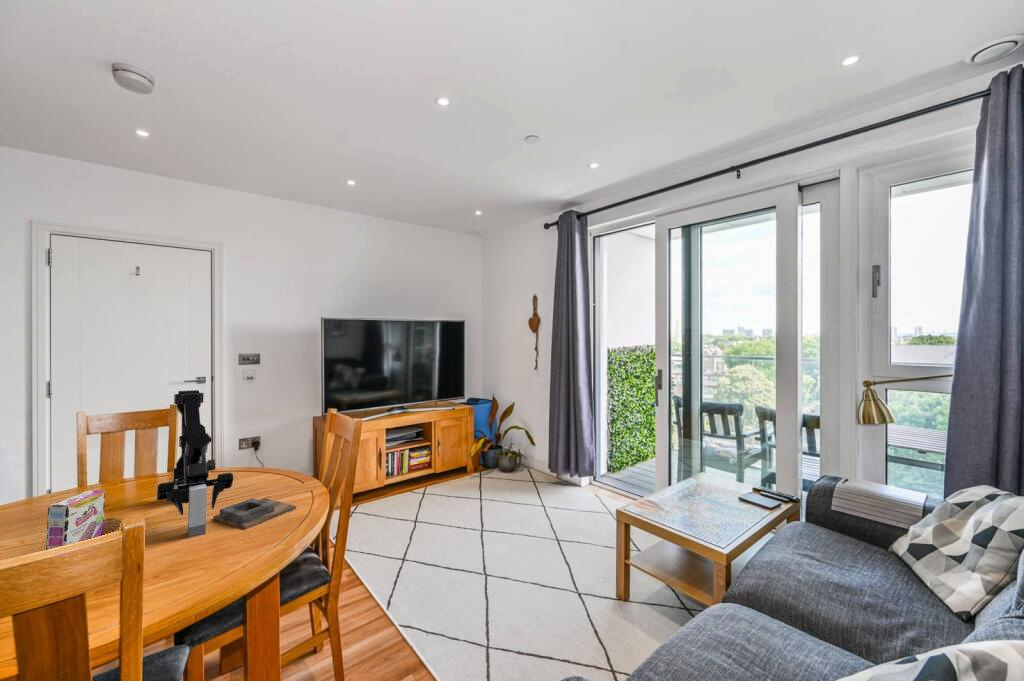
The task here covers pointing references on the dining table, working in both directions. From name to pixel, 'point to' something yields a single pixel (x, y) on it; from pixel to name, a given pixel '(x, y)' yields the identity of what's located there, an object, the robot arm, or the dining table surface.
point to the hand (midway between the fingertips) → (197, 511)
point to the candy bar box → (75, 519)
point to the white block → (197, 510)
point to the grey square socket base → (252, 512)
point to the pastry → (111, 525)
